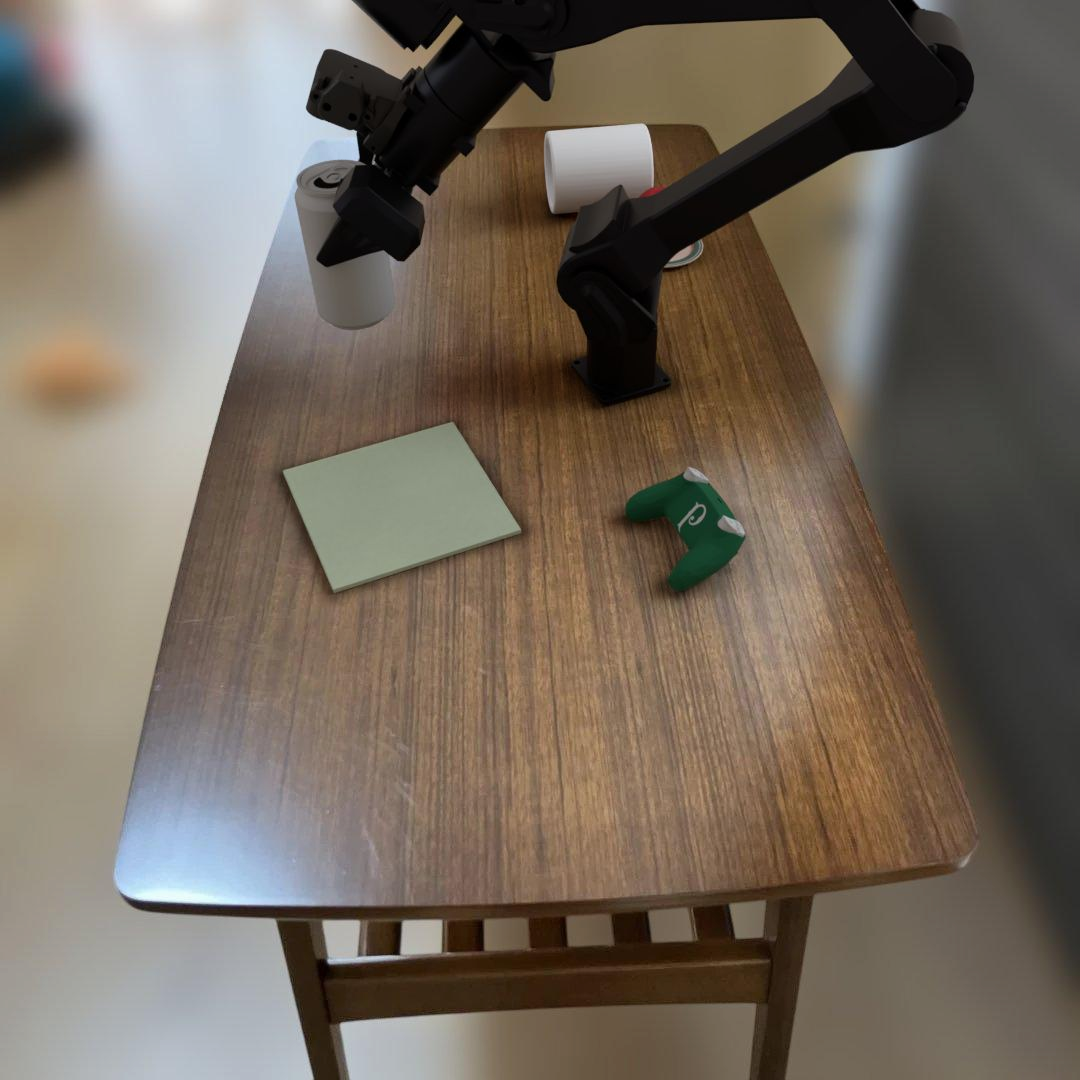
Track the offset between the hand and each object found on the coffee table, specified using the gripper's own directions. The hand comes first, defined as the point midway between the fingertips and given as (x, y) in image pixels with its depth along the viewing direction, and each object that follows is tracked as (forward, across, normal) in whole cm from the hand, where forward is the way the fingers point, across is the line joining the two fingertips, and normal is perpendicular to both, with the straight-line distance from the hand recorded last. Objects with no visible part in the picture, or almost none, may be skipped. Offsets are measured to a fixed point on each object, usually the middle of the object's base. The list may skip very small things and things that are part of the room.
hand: (328, 240), depth 87 cm
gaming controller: (-10, +21, +28) cm, 37 cm away
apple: (-10, -20, +28) cm, 36 cm away
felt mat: (+4, +17, +13) cm, 22 cm away
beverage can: (+4, 0, +6) cm, 7 cm away
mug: (-6, -31, +24) cm, 39 cm away
